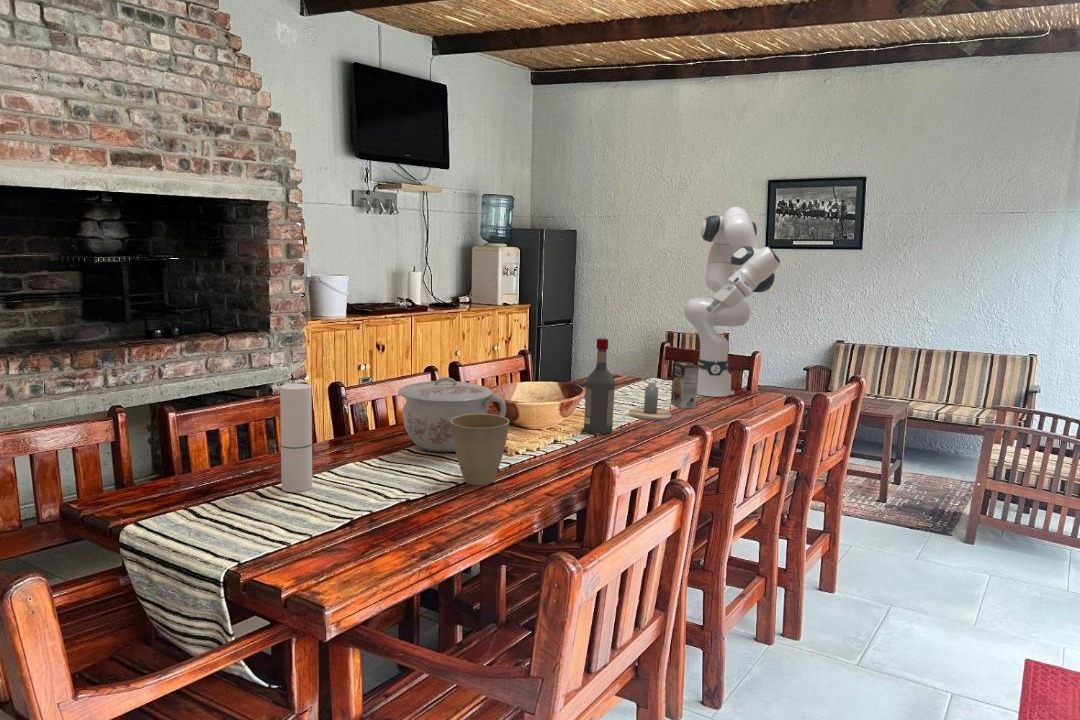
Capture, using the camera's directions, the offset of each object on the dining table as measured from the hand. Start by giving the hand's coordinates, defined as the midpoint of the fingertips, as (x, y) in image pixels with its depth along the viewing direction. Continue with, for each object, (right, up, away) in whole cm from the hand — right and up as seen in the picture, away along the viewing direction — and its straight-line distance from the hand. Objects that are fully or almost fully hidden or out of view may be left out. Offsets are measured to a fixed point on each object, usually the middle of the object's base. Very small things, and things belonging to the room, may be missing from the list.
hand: (709, 312), depth 281 cm
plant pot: (-75, -48, -76) cm, 117 cm away
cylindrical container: (-118, -48, -86) cm, 154 cm away
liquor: (-40, -40, -20) cm, 60 cm away
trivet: (-20, -36, +5) cm, 42 cm away
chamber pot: (-87, -42, -45) cm, 107 cm away
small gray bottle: (-20, -35, +4) cm, 41 cm away
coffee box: (-5, -34, +23) cm, 41 cm away
